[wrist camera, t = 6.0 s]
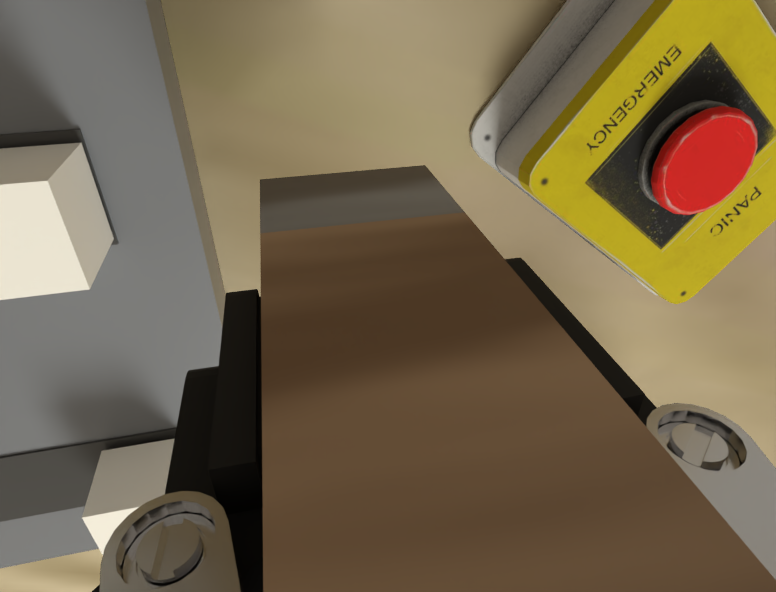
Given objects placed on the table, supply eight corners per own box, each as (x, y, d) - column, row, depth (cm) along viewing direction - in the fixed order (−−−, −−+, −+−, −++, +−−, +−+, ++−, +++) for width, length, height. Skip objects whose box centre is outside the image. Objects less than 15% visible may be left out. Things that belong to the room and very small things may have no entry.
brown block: (260, 179, 12) (267, 1091, 2) (424, 165, 13) (982, 827, 3) (281, 319, 14) (333, 1106, 4) (422, 301, 15) (741, 950, 5)
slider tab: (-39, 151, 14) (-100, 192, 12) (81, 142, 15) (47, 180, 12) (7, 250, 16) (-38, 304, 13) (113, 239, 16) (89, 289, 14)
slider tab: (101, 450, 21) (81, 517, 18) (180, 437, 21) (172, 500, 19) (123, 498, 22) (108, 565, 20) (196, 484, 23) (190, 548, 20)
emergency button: (732, -108, 14) (903, 186, 21) (632, -96, 17) (808, 151, 25) (498, 176, 17) (717, 348, 24) (454, 137, 20) (656, 296, 28)
